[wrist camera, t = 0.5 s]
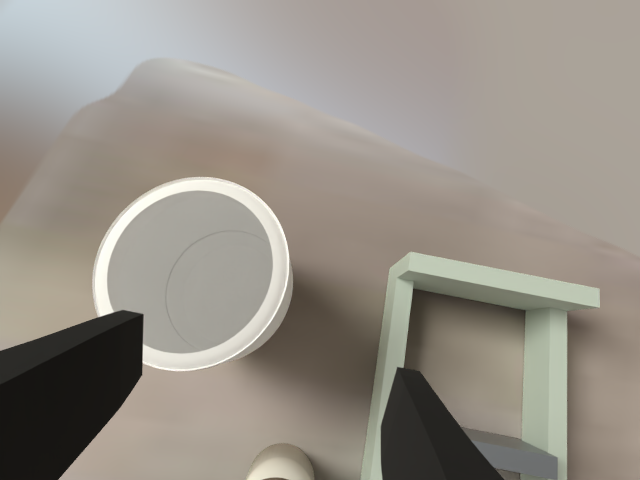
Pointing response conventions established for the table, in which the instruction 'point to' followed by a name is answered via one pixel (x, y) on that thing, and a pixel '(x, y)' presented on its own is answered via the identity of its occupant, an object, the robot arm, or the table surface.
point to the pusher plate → (514, 454)
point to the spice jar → (281, 464)
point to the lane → (539, 351)
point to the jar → (196, 272)
